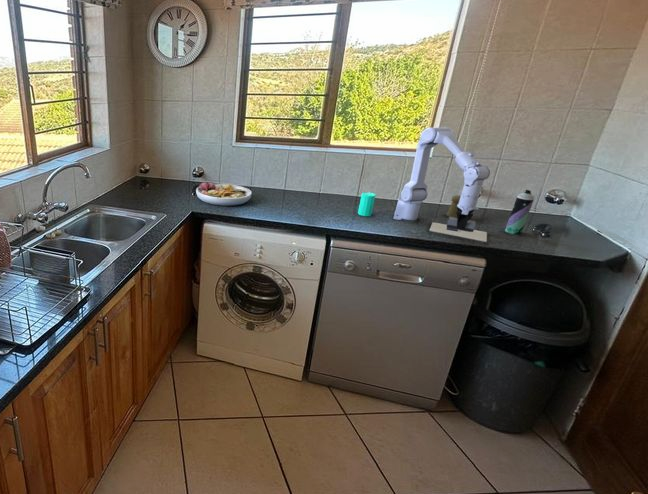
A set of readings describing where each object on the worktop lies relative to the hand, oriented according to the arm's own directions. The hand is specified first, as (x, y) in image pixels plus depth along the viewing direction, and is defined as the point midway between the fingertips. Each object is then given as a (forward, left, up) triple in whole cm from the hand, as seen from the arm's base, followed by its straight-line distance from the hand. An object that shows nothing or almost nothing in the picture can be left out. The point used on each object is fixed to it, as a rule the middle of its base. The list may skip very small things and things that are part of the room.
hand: (460, 226), depth 168 cm
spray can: (+19, +24, -6) cm, 31 cm away
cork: (-3, +34, -6) cm, 35 cm away
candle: (-38, +11, -6) cm, 40 cm away
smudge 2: (+2, +13, -5) cm, 14 cm away
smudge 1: (-2, +10, -5) cm, 11 cm away
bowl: (-105, -12, -6) cm, 106 cm away
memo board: (0, +9, -6) cm, 11 cm away
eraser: (0, 0, -1) cm, 1 cm away
